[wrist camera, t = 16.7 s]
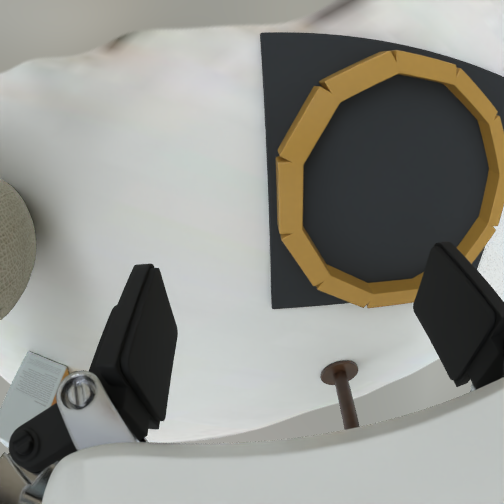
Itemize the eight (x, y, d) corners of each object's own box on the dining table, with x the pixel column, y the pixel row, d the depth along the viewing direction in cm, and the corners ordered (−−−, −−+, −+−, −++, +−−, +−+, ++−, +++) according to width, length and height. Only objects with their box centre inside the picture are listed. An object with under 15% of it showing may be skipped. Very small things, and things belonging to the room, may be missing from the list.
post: (322, 362, 28) (338, 443, 20) (360, 358, 28) (382, 434, 20) (318, 383, 30) (331, 457, 22) (353, 379, 30) (370, 449, 22)
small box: (78, 396, 33) (54, 474, 22) (41, 381, 32) (14, 454, 21) (68, 365, 29) (34, 456, 18) (27, 349, 28) (-11, 431, 17)
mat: (260, 34, 13) (260, 32, 13) (508, 80, 13) (513, 81, 12) (271, 304, 23) (272, 309, 23) (467, 283, 23) (470, 287, 23)
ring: (269, 42, 13) (271, 39, 12) (507, 86, 13) (520, 89, 12) (278, 303, 23) (279, 316, 21) (466, 283, 22) (474, 292, 21)
